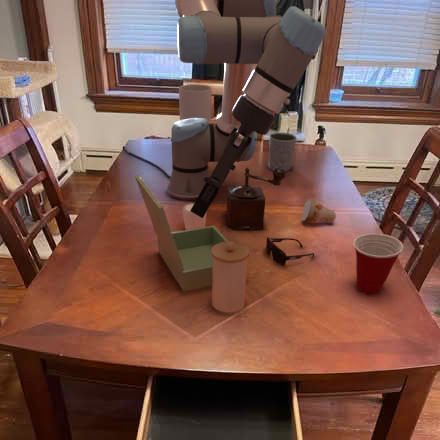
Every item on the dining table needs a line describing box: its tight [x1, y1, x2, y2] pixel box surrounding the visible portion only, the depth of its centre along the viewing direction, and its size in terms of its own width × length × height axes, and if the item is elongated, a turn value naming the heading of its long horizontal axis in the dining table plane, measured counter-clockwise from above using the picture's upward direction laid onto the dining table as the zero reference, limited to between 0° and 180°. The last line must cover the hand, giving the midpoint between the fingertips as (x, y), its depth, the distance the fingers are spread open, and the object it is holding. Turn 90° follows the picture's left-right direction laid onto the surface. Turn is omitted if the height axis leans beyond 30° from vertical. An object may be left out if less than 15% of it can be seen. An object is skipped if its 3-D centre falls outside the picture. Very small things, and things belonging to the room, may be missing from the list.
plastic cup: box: [352, 233, 404, 295], centre depth 107 cm, size 11×11×12 cm
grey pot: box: [267, 132, 297, 172], centre depth 175 cm, size 10×10×12 cm
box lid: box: [134, 174, 184, 272], centre depth 105 cm, size 16×20×1 cm
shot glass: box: [182, 202, 208, 230], centre depth 131 cm, size 7×7×7 cm
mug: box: [301, 198, 337, 224], centre depth 137 cm, size 8×10×10 cm
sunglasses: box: [265, 236, 315, 266], centre depth 120 cm, size 10×12×5 cm
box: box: [157, 225, 230, 292], centre depth 114 cm, size 16×20×6 cm
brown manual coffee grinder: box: [225, 167, 287, 231], centre depth 133 cm, size 16×11×18 cm
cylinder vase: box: [178, 84, 212, 124], centre depth 184 cm, size 12×12×25 cm
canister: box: [211, 241, 250, 315], centre depth 98 cm, size 8×8×16 cm
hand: (203, 203), depth 92 cm, fingers open, 13 cm apart
